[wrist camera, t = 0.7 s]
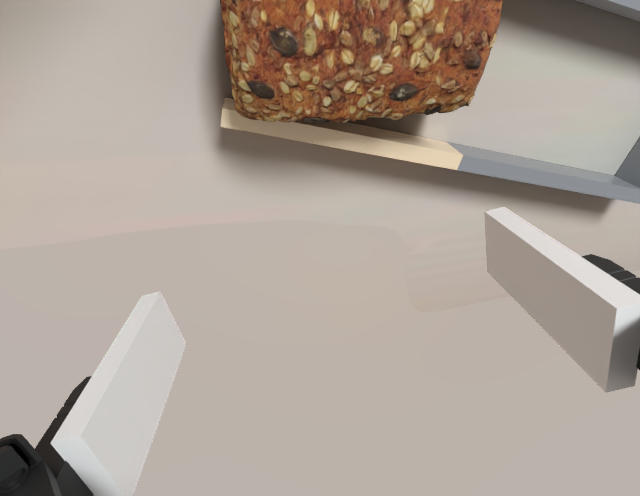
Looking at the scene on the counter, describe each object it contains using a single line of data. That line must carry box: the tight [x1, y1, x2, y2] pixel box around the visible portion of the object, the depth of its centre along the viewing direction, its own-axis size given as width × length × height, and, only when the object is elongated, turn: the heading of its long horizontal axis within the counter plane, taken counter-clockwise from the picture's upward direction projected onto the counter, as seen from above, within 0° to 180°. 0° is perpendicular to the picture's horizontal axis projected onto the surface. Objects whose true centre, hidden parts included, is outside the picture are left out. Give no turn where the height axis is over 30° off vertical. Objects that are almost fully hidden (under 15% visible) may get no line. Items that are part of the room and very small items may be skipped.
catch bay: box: [221, 0, 640, 204], centre depth 34 cm, size 17×46×4 cm, turn 77°
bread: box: [220, 0, 503, 124], centre depth 29 cm, size 19×11×10 cm, turn 90°
